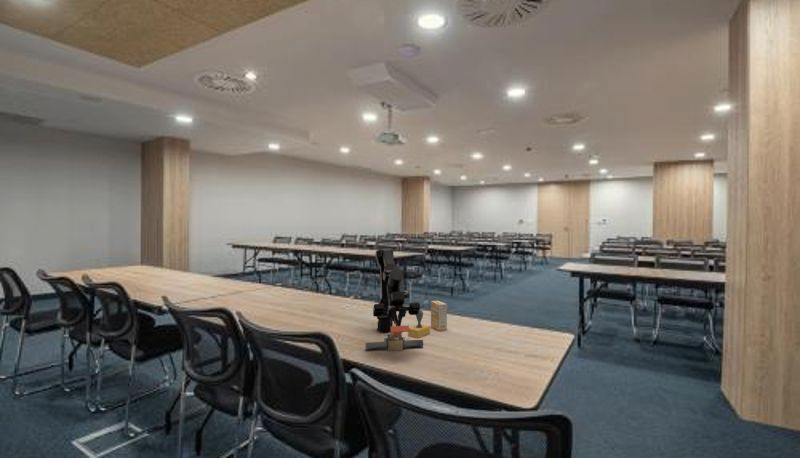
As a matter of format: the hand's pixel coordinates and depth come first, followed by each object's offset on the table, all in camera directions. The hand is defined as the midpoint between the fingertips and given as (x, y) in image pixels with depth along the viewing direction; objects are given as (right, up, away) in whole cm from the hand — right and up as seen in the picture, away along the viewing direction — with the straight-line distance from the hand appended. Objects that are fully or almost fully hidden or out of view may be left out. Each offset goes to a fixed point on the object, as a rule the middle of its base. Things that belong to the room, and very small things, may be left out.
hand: (399, 328), depth 151 cm
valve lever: (-2, -6, +10) cm, 12 cm away
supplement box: (+19, -11, +40) cm, 46 cm away
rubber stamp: (+9, -11, +30) cm, 33 cm away
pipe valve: (-2, -11, +10) cm, 15 cm away
